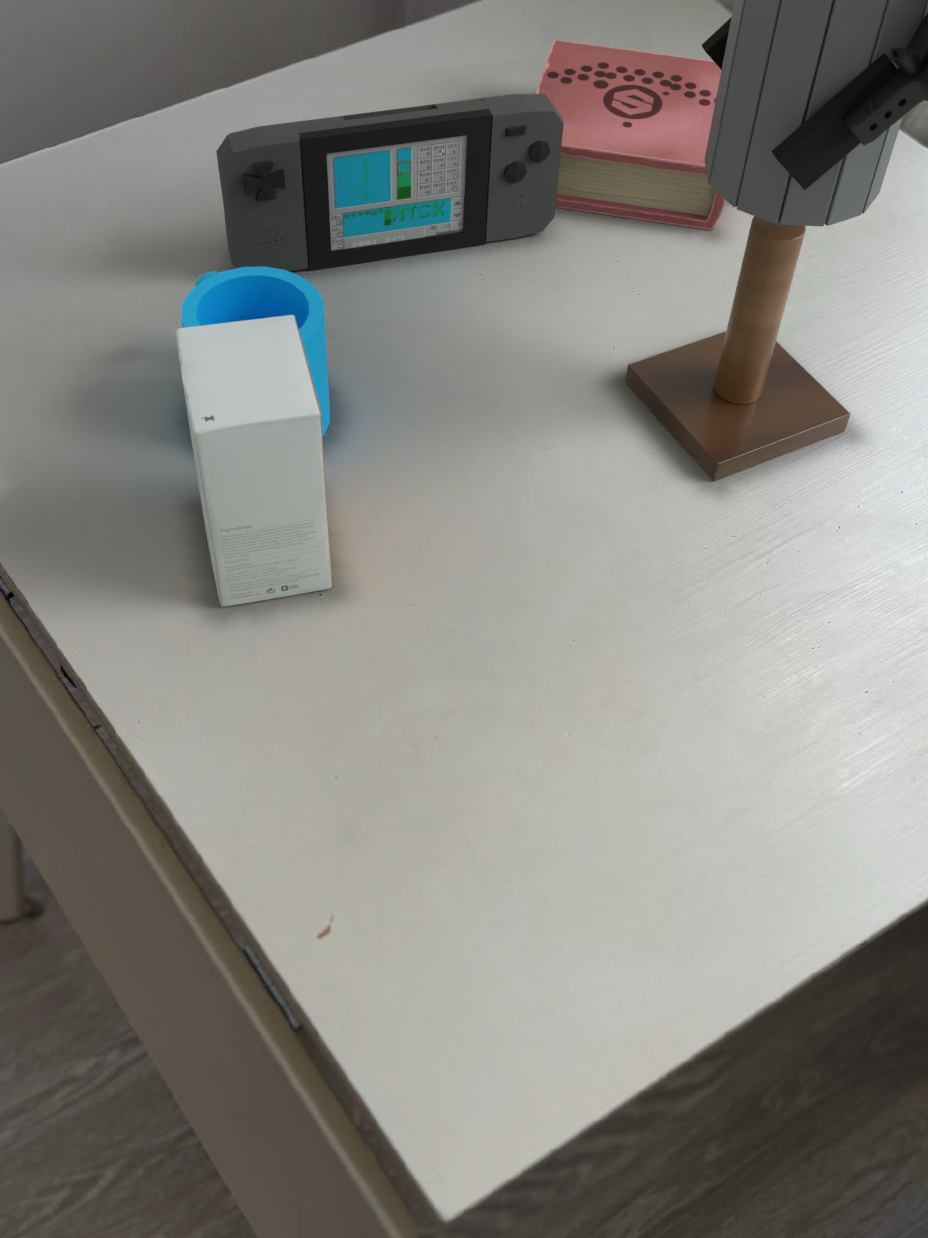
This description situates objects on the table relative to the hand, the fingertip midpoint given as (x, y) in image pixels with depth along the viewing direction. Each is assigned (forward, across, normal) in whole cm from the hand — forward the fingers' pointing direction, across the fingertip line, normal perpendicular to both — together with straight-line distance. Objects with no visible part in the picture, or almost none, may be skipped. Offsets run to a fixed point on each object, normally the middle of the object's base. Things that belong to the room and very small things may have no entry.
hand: (751, 115), depth 70 cm
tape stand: (+12, 0, -17) cm, 21 cm away
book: (+11, +27, -18) cm, 35 cm away
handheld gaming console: (+25, +20, -4) cm, 32 cm away
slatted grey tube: (0, 0, -5) cm, 5 cm away
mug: (+33, +6, +4) cm, 34 cm away
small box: (+34, -6, +5) cm, 35 cm away
